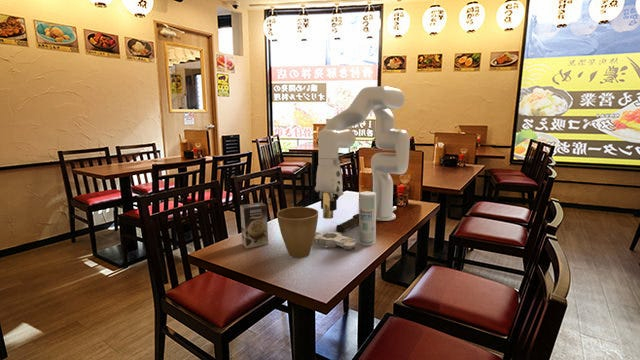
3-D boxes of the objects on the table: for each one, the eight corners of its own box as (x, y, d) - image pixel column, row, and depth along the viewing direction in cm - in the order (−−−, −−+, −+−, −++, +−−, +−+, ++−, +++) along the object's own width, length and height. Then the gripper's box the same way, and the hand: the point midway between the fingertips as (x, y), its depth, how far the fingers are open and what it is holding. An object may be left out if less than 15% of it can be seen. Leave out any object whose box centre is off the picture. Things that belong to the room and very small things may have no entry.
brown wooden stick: (343, 234, 150) (343, 224, 149) (335, 232, 152) (335, 222, 151) (366, 223, 165) (366, 213, 164) (358, 221, 167) (358, 212, 166)
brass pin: (327, 215, 140) (327, 190, 138) (335, 217, 137) (335, 192, 136) (320, 217, 137) (320, 192, 135) (328, 219, 134) (328, 193, 133)
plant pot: (275, 249, 134) (273, 209, 131) (313, 244, 138) (312, 205, 135) (282, 265, 120) (280, 220, 117) (324, 259, 124) (323, 215, 121)
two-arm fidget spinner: (316, 233, 151) (315, 226, 151) (361, 246, 135) (361, 239, 134) (300, 239, 145) (300, 232, 144) (346, 253, 128) (346, 246, 128)
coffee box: (246, 249, 135) (243, 208, 132) (241, 243, 141) (239, 204, 138) (269, 244, 140) (267, 205, 137) (263, 239, 145) (261, 201, 142)
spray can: (377, 240, 141) (377, 191, 137) (374, 246, 135) (374, 195, 131) (361, 238, 143) (361, 190, 140) (357, 244, 137) (357, 194, 134)
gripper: (352, 163, 131) (351, 211, 134) (319, 160, 142) (319, 204, 145) (339, 165, 125) (339, 215, 128) (305, 161, 137) (306, 207, 140)
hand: (328, 208), depth 137 cm, fingers closed on brass pin, 4 cm apart
